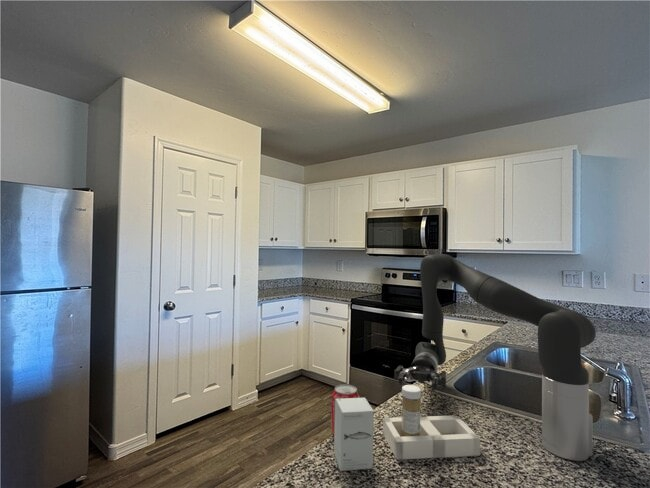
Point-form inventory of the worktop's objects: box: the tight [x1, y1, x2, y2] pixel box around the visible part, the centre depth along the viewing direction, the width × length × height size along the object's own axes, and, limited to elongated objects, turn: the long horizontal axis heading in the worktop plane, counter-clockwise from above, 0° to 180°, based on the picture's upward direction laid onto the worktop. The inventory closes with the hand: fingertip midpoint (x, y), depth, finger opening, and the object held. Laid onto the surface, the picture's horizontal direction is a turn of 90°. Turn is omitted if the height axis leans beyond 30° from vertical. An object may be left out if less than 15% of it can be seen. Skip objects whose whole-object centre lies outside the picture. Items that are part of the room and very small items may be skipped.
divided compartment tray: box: [382, 414, 481, 460], centre depth 83 cm, size 20×11×4 cm, turn 96°
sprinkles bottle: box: [401, 384, 422, 437], centre depth 83 cm, size 5×5×13 cm
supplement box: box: [333, 396, 375, 472], centre depth 76 cm, size 7×7×13 cm
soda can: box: [330, 383, 360, 436], centre depth 86 cm, size 7×7×12 cm
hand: (416, 384), depth 92 cm, fingers open, 8 cm apart
